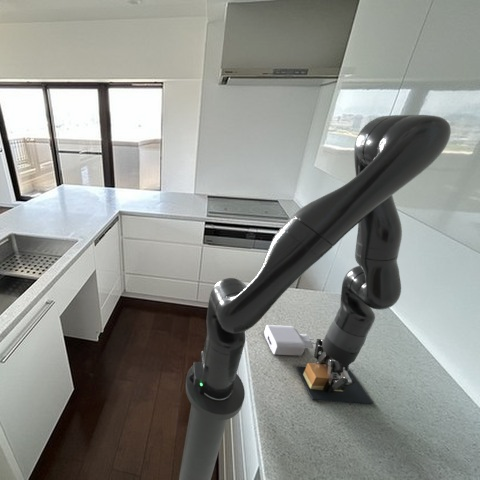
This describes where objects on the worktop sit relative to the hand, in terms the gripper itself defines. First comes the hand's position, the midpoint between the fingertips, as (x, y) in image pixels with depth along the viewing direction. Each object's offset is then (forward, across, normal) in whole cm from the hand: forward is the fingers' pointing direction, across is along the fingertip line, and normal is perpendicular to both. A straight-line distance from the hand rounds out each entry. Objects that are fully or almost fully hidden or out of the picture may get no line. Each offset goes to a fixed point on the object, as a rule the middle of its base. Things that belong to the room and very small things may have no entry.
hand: (322, 382), depth 73 cm
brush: (0, 0, 0) cm, 0 cm away
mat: (+1, 0, +3) cm, 3 cm away
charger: (+1, -14, -3) cm, 14 cm away
